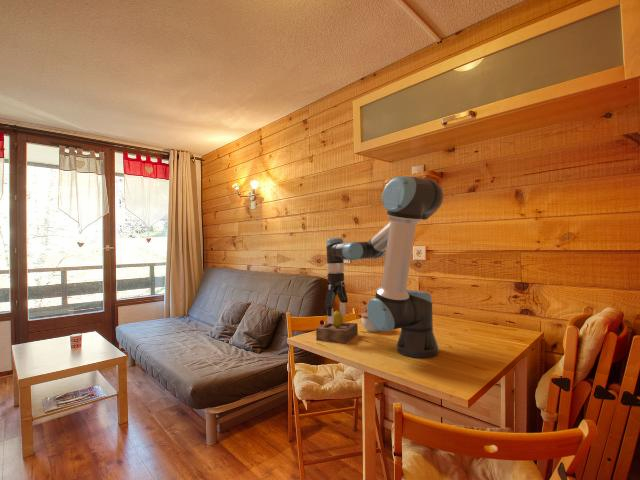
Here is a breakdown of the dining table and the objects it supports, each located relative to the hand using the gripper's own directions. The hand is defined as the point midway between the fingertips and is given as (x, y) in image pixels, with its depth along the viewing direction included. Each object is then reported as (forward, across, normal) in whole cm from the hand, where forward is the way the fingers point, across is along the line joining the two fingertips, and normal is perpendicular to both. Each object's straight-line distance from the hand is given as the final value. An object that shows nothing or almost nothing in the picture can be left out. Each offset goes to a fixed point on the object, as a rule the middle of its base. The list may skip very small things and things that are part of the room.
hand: (337, 320), depth 146 cm
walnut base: (+8, 0, 0) cm, 8 cm away
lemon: (+4, 0, 0) cm, 4 cm away
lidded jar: (+8, -17, +11) cm, 22 cm away
